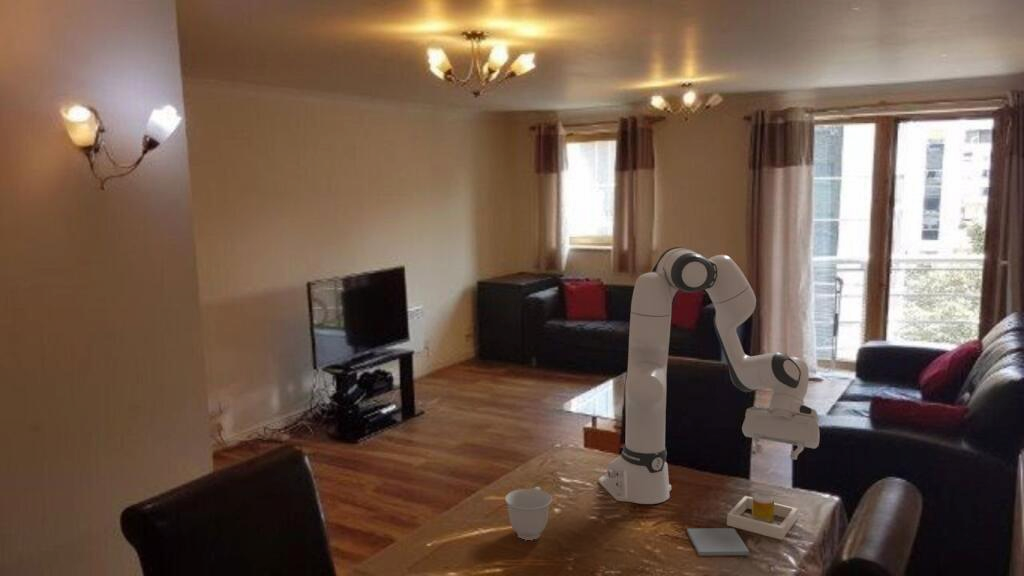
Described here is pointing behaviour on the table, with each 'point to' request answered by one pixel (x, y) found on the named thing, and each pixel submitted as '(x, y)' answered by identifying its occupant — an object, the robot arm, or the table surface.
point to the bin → (759, 526)
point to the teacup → (528, 511)
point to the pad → (717, 541)
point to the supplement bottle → (763, 504)
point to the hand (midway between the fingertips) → (775, 455)
